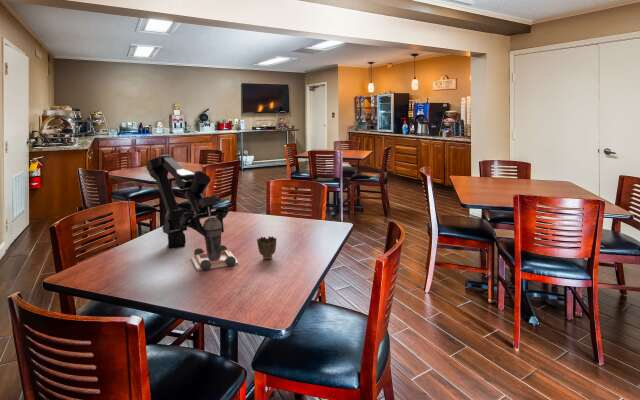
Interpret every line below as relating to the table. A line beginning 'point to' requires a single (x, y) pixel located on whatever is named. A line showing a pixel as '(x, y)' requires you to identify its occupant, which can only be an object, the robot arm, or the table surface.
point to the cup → (267, 247)
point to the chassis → (205, 263)
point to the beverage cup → (213, 237)
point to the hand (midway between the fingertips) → (214, 233)
